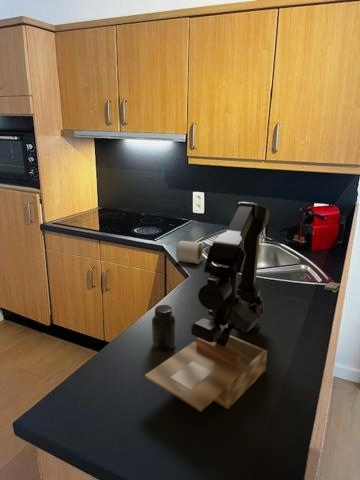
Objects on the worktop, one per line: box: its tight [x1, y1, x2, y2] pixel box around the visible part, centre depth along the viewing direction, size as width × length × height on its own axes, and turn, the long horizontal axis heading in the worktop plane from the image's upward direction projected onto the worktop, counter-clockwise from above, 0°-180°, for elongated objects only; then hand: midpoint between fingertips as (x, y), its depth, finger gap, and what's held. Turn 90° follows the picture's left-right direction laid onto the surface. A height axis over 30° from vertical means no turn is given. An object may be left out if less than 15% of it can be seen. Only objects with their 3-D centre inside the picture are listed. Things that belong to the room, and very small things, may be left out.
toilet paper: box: [175, 240, 204, 265], centre depth 171 cm, size 10×10×10 cm
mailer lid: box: [144, 337, 247, 413], centre depth 82 cm, size 18×16×3 cm
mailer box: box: [212, 334, 268, 410], centre depth 91 cm, size 18×16×6 cm
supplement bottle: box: [151, 304, 177, 352], centre depth 102 cm, size 7×7×12 cm
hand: (222, 348), depth 89 cm, fingers closed
